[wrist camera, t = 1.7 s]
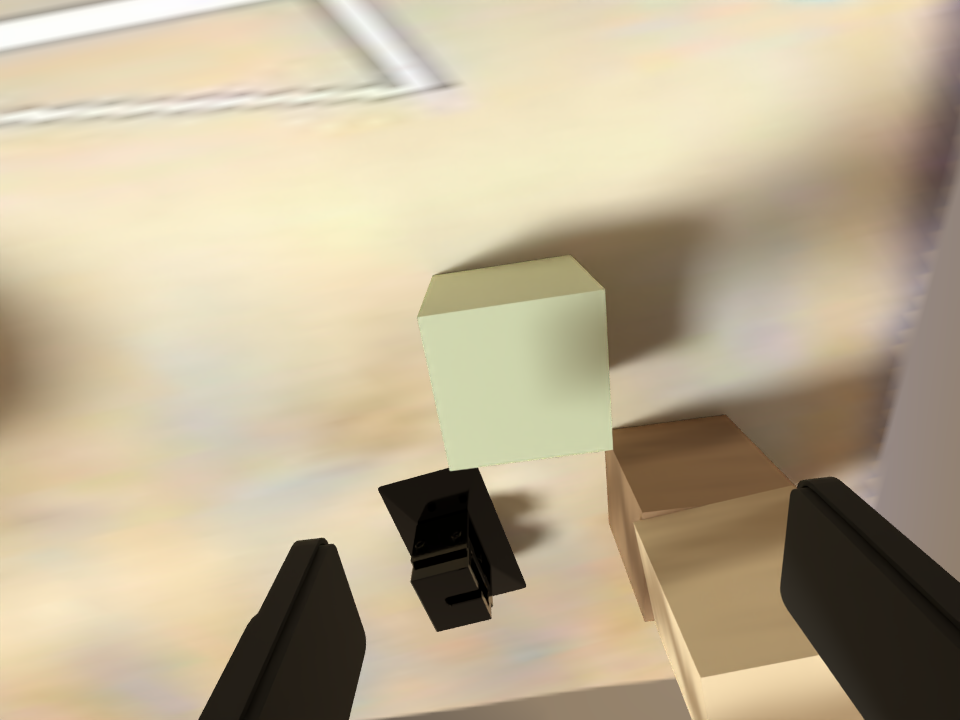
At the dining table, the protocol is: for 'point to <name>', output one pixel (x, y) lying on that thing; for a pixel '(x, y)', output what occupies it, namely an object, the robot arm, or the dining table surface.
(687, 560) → the tower top
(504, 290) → the sage block
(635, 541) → the tower base
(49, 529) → the dining table surface
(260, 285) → the dining table surface
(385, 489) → the black boxy piece
